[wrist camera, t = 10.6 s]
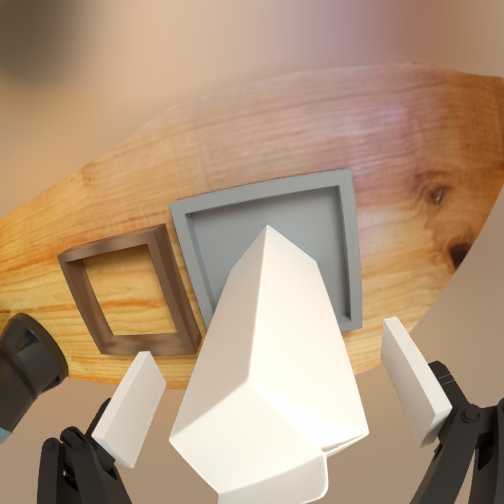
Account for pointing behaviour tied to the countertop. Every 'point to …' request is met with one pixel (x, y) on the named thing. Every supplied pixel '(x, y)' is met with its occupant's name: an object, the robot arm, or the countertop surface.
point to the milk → (270, 383)
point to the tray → (283, 221)
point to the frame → (170, 284)
